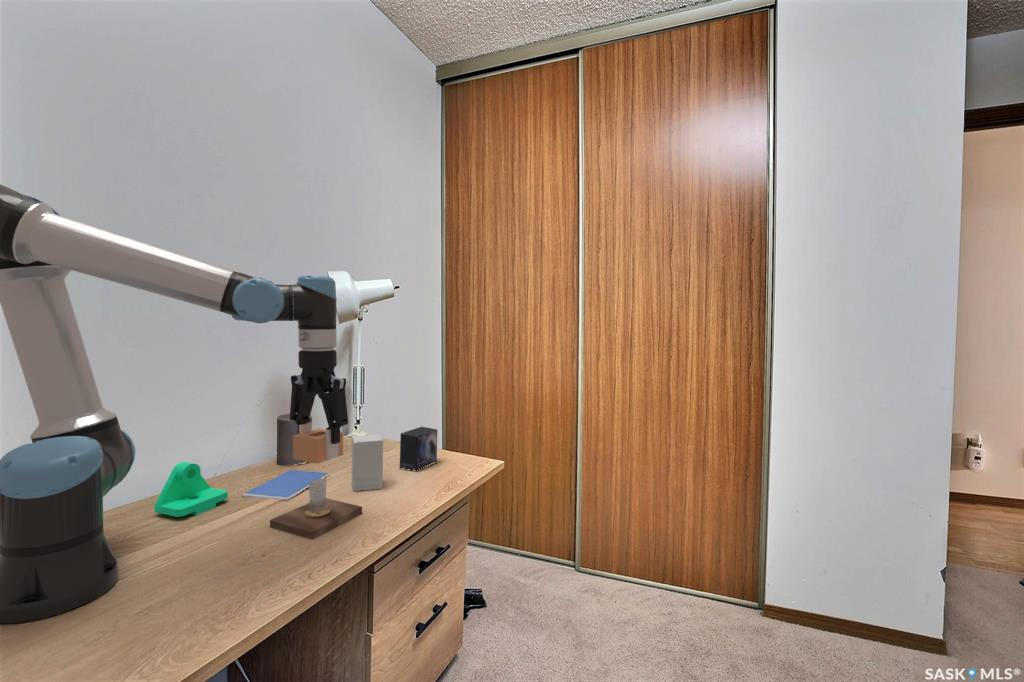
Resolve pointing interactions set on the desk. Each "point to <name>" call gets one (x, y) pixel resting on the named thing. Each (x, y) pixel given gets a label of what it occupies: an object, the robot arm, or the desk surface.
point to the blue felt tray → (285, 485)
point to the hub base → (316, 514)
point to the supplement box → (367, 462)
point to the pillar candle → (286, 439)
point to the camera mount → (187, 492)
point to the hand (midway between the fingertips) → (318, 455)
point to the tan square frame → (313, 446)
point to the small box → (418, 448)
